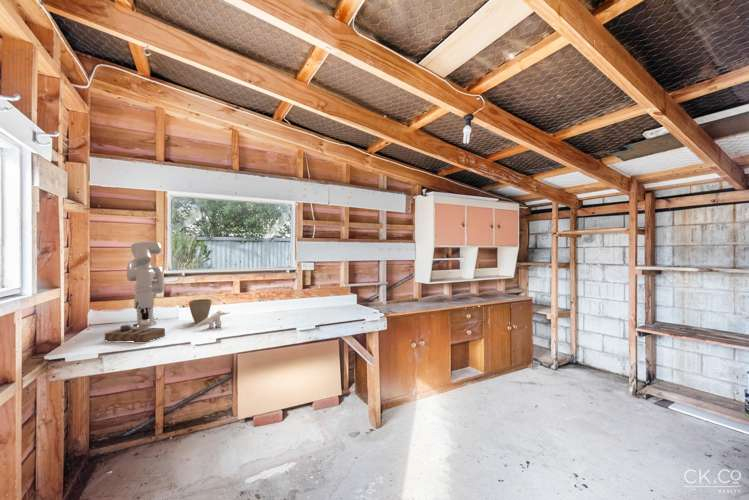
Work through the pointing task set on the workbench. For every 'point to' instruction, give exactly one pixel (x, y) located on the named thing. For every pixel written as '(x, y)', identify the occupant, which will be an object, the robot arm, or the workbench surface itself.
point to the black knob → (125, 328)
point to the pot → (135, 327)
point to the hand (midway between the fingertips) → (145, 319)
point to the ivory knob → (145, 324)
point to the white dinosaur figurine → (213, 319)
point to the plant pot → (200, 309)
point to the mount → (135, 335)
